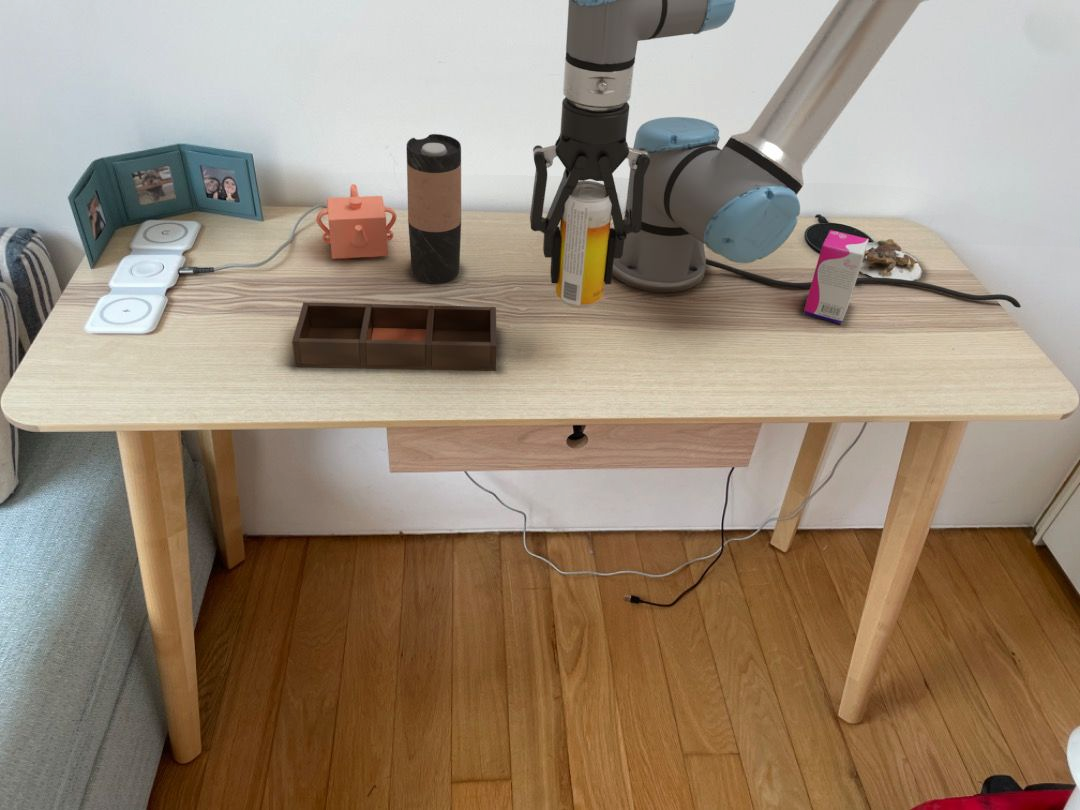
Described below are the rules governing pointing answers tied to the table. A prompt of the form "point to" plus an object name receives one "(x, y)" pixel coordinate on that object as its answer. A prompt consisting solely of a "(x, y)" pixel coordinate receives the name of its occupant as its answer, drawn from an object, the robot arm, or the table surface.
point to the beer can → (584, 245)
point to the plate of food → (889, 262)
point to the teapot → (357, 226)
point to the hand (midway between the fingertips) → (580, 277)
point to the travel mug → (434, 207)
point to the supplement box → (835, 276)
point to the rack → (395, 336)
